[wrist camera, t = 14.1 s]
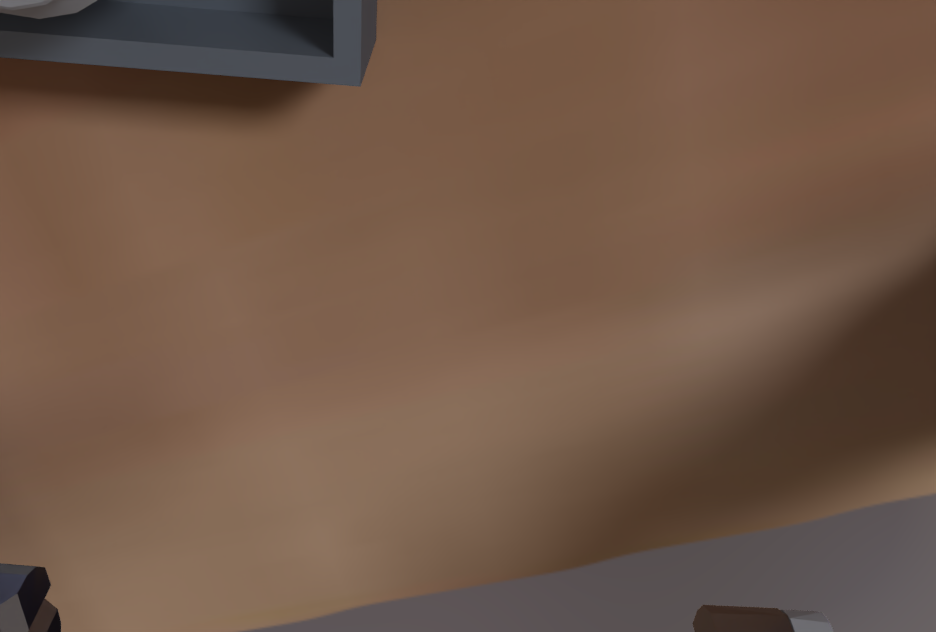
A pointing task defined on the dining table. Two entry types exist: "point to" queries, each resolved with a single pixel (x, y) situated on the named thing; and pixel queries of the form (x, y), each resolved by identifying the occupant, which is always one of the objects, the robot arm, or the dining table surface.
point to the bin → (207, 37)
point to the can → (42, 7)
